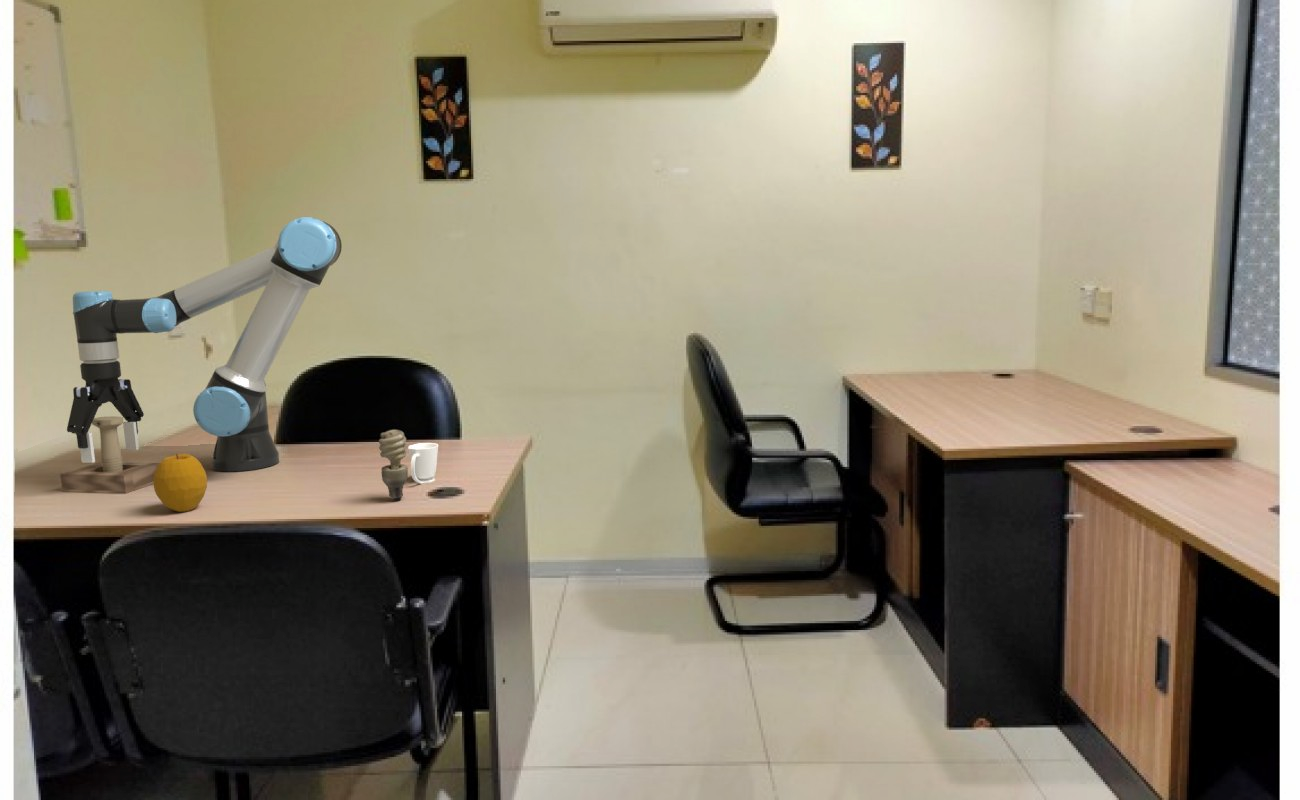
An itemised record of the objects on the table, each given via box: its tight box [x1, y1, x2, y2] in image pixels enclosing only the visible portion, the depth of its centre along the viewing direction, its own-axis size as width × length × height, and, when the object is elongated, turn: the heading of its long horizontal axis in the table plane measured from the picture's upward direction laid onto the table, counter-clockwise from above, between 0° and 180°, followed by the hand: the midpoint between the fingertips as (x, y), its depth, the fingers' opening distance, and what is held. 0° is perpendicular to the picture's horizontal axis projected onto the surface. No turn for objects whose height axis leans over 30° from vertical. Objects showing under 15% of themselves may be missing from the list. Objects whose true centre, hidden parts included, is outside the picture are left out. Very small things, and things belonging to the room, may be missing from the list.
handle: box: [91, 415, 124, 473], centre depth 197 cm, size 5×6×15 cm
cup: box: [407, 442, 439, 485], centre depth 195 cm, size 7×10×8 cm
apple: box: [152, 453, 208, 513], centre depth 177 cm, size 10×10×12 cm
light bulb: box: [378, 429, 409, 501], centre depth 180 cm, size 6×6×15 cm
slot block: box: [59, 461, 160, 494], centre depth 198 cm, size 16×12×4 cm
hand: (111, 455), depth 197 cm, fingers open, 12 cm apart
